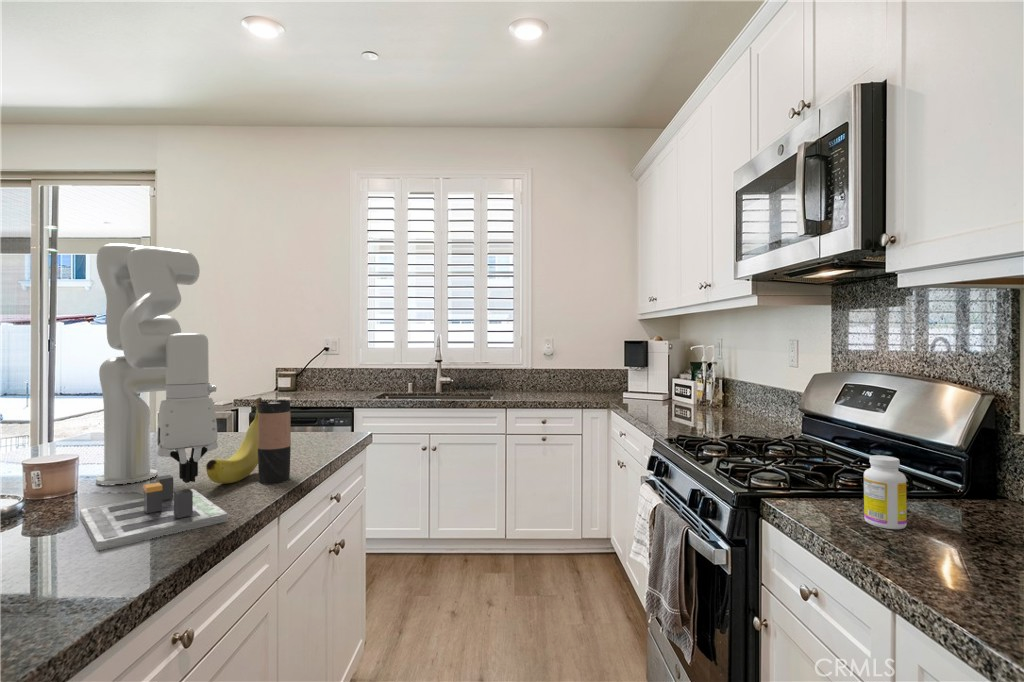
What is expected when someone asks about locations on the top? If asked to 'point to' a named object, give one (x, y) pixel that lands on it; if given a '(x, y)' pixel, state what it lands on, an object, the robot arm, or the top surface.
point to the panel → (145, 521)
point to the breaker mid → (152, 497)
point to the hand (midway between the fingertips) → (188, 481)
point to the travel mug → (274, 441)
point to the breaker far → (166, 486)
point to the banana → (238, 457)
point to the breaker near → (183, 503)
